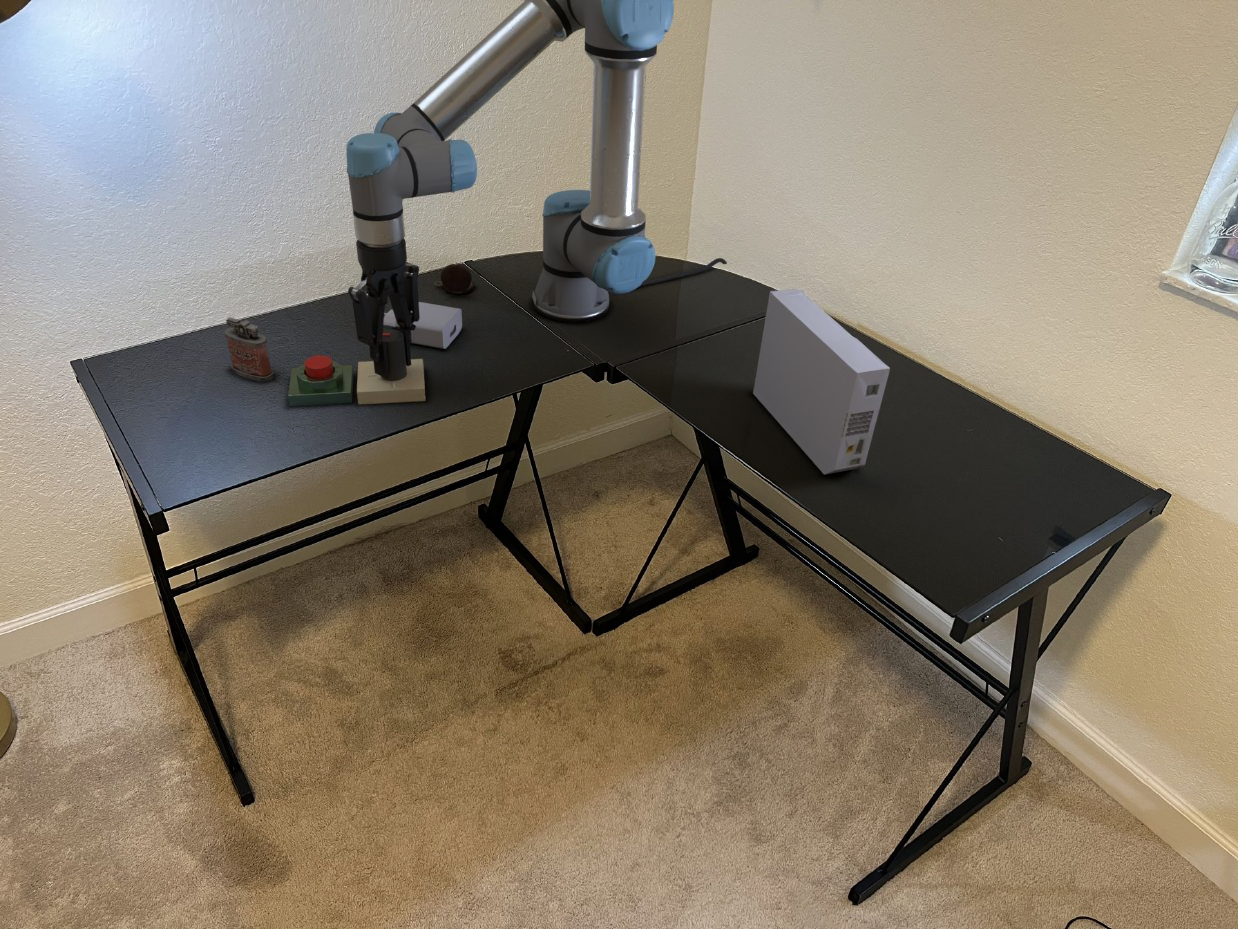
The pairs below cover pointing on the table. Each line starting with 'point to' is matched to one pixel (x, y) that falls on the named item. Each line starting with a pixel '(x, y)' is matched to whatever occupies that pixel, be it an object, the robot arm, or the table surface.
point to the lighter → (248, 350)
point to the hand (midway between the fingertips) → (393, 368)
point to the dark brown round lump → (456, 279)
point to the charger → (432, 325)
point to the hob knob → (395, 354)
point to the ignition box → (321, 387)
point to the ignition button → (319, 367)
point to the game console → (818, 382)
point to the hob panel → (390, 385)
